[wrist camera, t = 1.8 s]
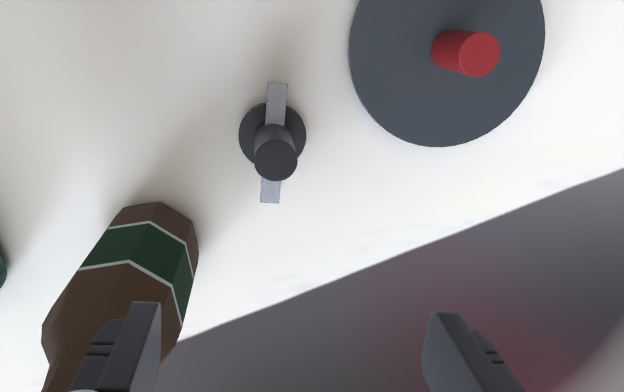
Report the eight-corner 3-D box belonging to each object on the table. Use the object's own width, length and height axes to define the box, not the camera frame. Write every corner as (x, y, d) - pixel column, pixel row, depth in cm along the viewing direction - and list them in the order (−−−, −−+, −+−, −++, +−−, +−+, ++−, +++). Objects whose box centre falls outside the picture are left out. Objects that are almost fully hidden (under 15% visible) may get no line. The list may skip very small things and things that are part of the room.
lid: (307, 72, 38) (317, 83, 31) (433, -109, 34) (472, -137, 28) (451, 178, 42) (485, 205, 36) (576, 25, 38) (637, 26, 32)
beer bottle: (209, 209, 40) (150, 449, 18) (191, 291, 43) (119, 593, 20) (111, 188, 39) (-88, 420, 17) (98, 274, 41) (-92, 580, 19)
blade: (300, 188, 41) (309, 224, 34) (236, 184, 40) (231, 220, 33) (310, 82, 38) (322, 97, 31) (242, 76, 37) (238, 90, 30)
